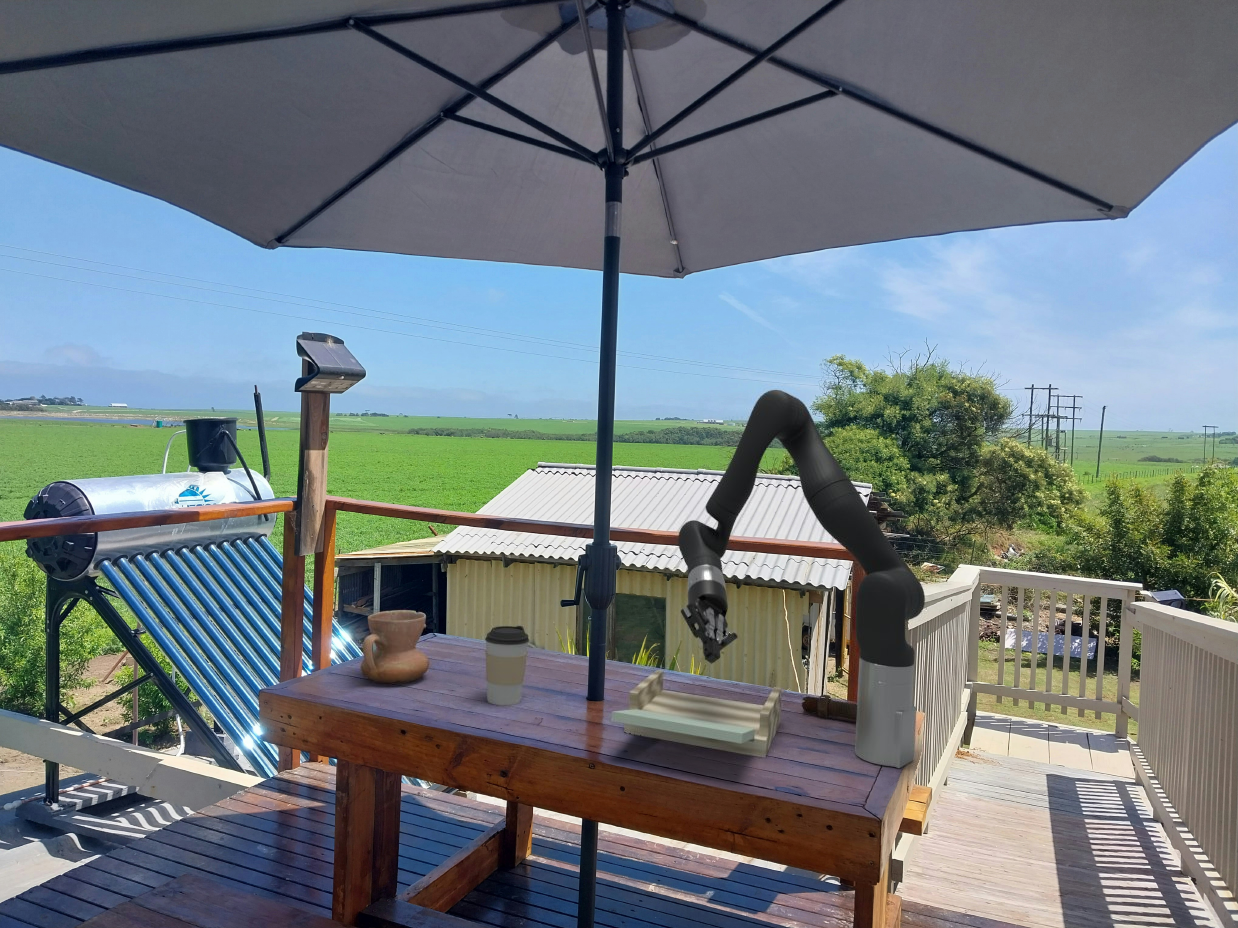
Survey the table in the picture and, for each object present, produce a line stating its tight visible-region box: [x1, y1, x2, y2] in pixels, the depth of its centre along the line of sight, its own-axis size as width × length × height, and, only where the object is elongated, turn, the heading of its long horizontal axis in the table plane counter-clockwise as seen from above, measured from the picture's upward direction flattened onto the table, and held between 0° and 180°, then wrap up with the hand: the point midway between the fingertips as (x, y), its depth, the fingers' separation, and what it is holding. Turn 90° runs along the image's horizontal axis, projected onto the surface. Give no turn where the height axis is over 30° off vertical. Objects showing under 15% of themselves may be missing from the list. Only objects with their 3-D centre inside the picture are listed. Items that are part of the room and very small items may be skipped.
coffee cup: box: [484, 625, 530, 706], centre depth 154 cm, size 9×9×15 cm
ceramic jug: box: [360, 609, 430, 684], centre depth 164 cm, size 18×14×14 cm
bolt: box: [801, 694, 857, 721], centre depth 153 cm, size 6×5×15 cm
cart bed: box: [623, 669, 783, 759], centre depth 143 cm, size 20×26×7 cm
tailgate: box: [610, 709, 755, 744], centre depth 128 cm, size 2×22×14 cm
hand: (712, 659), depth 131 cm, fingers closed
